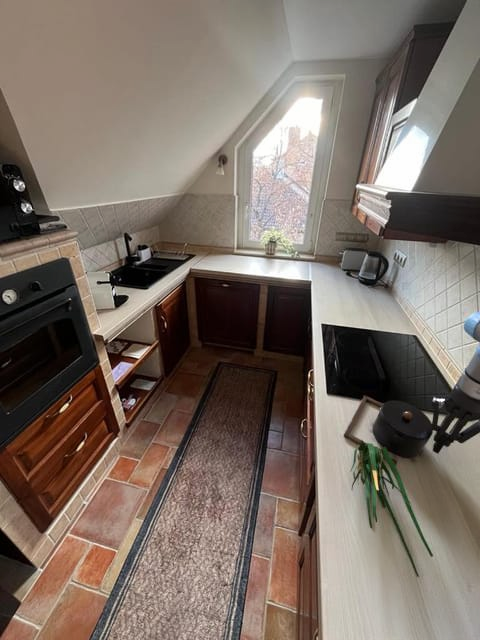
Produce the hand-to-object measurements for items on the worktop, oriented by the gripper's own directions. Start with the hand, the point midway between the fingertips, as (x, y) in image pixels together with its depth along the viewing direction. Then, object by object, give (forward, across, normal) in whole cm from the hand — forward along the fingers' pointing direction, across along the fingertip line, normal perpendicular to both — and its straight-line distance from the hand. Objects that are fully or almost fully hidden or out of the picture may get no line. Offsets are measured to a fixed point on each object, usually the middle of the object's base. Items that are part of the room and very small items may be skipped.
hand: (435, 449), depth 75 cm
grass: (+4, -10, -24) cm, 27 cm away
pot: (+4, -10, 0) cm, 10 cm away
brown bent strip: (+4, -15, +1) cm, 16 cm away
